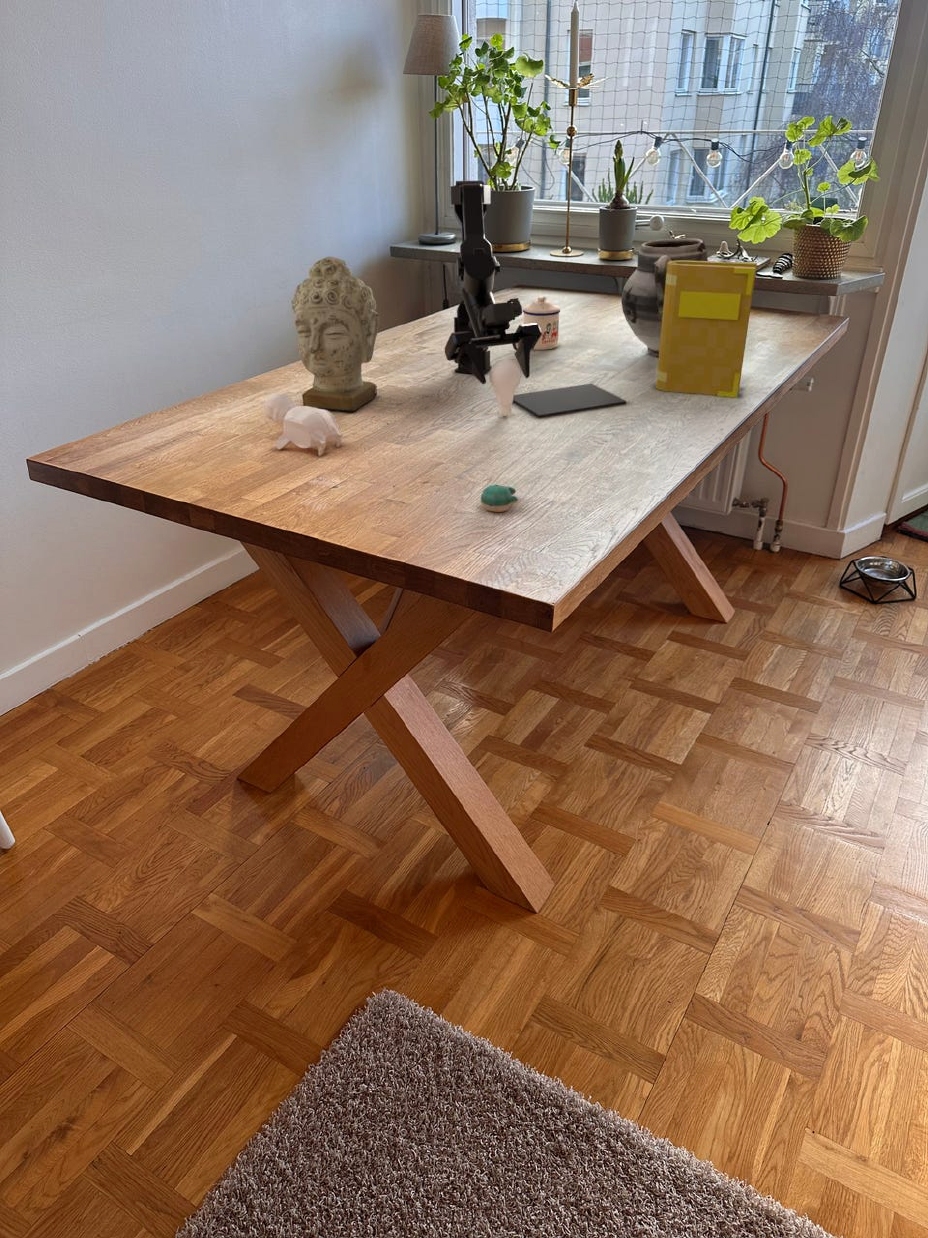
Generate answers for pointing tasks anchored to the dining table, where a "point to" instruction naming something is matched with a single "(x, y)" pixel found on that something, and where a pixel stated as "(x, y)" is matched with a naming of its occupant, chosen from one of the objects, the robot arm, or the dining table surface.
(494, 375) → the lightbulb
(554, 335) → the teacup with lid
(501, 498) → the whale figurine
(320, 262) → the buddha head
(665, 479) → the dining table surface
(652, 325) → the ceramic pot
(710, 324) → the book
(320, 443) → the white turtle figurine
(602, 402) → the mat
